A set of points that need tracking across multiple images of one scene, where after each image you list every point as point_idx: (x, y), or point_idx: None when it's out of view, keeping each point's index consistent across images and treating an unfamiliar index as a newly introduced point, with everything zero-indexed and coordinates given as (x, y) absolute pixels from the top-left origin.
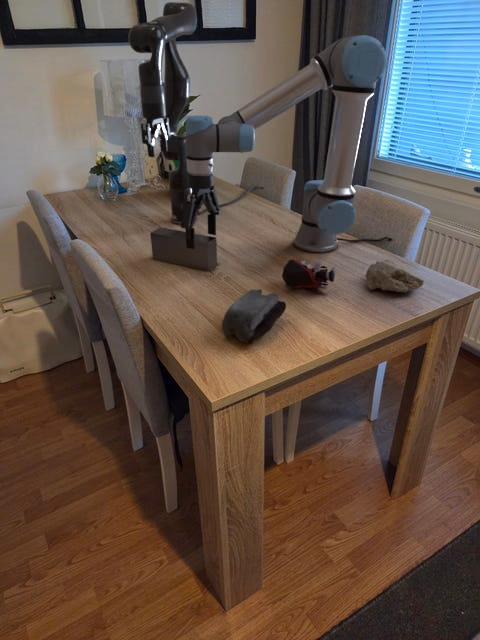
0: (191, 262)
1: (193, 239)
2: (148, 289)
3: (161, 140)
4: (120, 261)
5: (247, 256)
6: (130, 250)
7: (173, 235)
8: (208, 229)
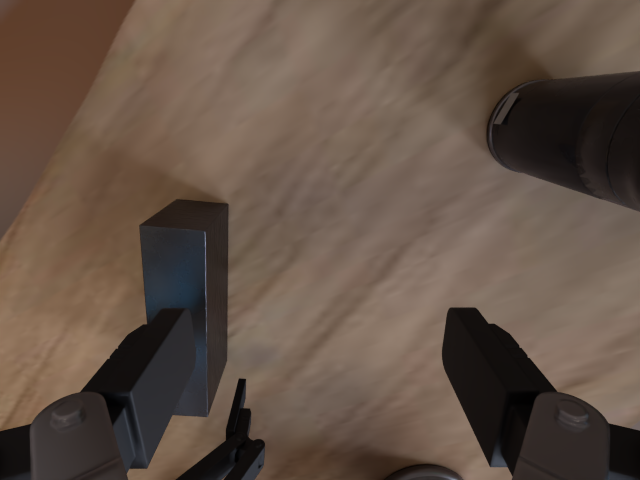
0: None
1: None
2: (23, 278)
3: (502, 409)
4: (111, 111)
5: (301, 401)
6: (199, 91)
7: (158, 308)
8: (236, 390)
